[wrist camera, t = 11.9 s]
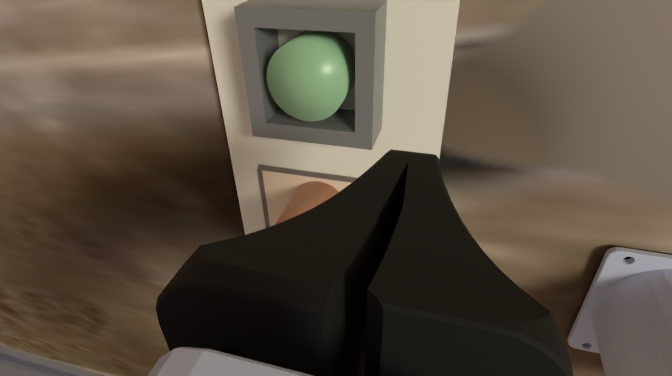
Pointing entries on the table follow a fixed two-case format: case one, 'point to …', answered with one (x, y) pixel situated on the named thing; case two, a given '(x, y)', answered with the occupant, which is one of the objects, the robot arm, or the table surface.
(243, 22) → the button housing
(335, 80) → the button
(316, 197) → the brown rounded cylinder
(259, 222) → the white flat panel
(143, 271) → the table surface
